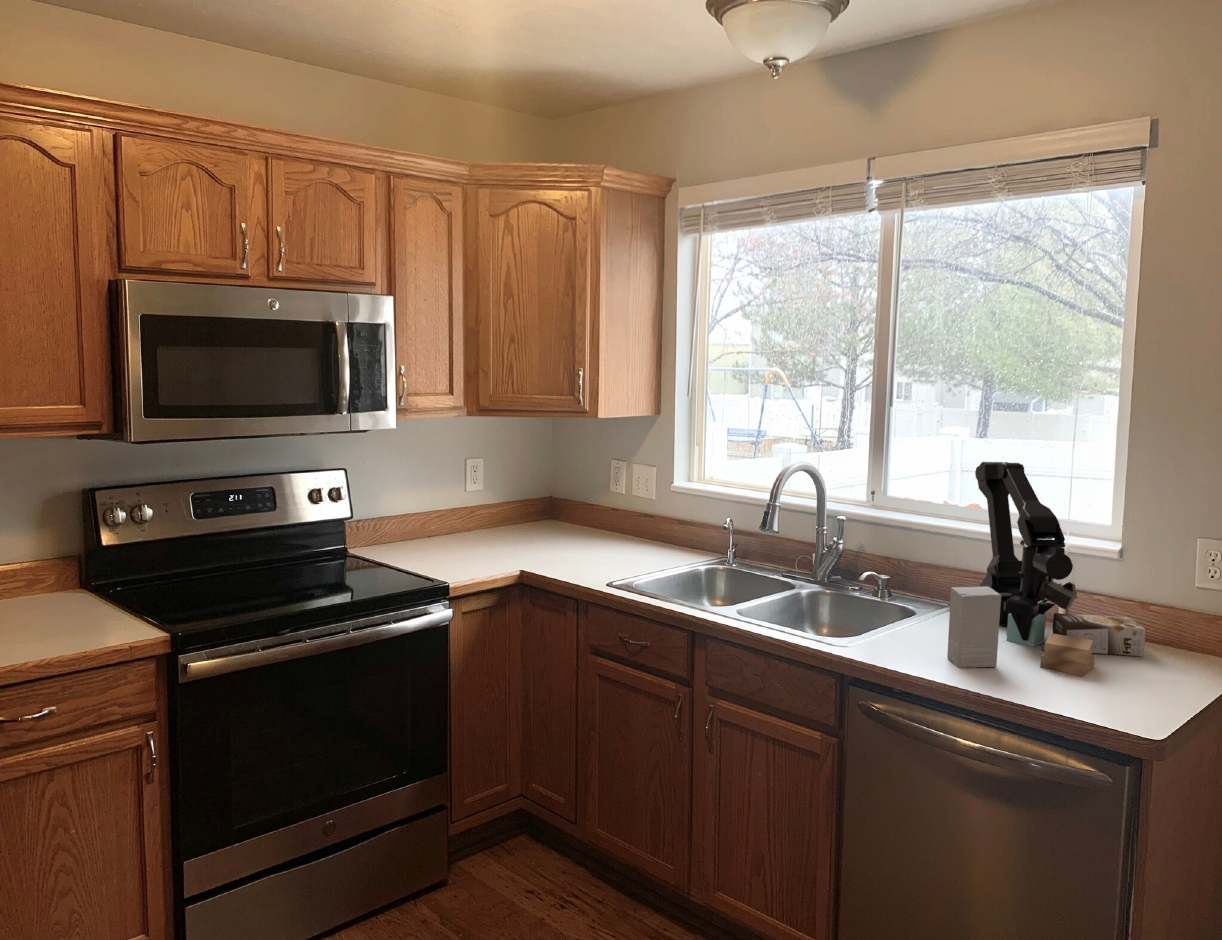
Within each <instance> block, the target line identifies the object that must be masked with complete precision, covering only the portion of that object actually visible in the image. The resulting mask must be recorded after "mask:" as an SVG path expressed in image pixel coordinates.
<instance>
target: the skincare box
mask: <svg viewBox="0 0 1222 940" xmlns="http://www.w3.org/2000/svg"><path fill="white" fill-rule="evenodd" d="M1000 604H1001V595H1000V594H999V593H997V592H996V591H994V590H993V589H992V588H990V587H988V586H987V587H980V586H960V587H959V586H958V587H957V586H953V587H951V588H950V603H949V619H948V620H949V621H948V635H947V636H948V641H947V653H946V654H947V659H948V660H949V661H950V662H951V663H952V664H953V665H955V666H956V667H957V668H959V669H960V668H961V669H962V668H963V669H965V668H996V667H997V663H998V647H999V636H1000V634H999V632H1000V625H999V619H1000Z"/></svg>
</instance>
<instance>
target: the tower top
mask: <svg viewBox="0 0 1222 940" xmlns="http://www.w3.org/2000/svg"><path fill="white" fill-rule="evenodd" d="M1092 648H1093V640H1089V639H1083V638H1077V637H1071V636H1065V635H1058V634H1053V632H1052V633H1051V632H1050V634H1049V636H1048V637H1047V638H1046V640H1045V641H1044V649H1043V654H1044V657H1047V658H1052V659H1058V660H1064V661H1069V662H1075V663H1080V664H1086V665H1087V664H1088V662H1089V660H1090V657H1091V655H1092V656H1093V653H1092Z"/></svg>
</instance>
